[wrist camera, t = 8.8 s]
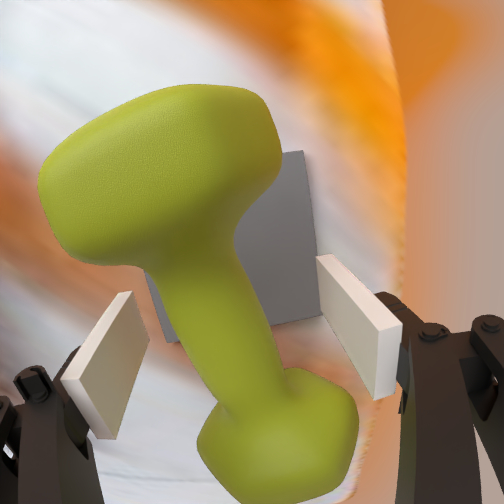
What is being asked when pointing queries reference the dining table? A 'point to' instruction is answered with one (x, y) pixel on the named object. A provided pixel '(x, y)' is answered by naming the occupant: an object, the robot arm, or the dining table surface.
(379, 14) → the dining table surface
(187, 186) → the dumbbell
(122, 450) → the dining table surface
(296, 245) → the trivet
